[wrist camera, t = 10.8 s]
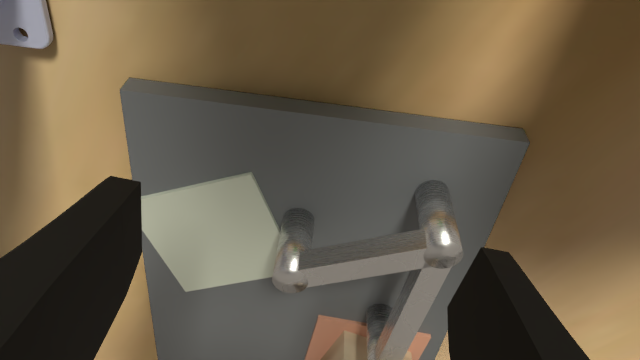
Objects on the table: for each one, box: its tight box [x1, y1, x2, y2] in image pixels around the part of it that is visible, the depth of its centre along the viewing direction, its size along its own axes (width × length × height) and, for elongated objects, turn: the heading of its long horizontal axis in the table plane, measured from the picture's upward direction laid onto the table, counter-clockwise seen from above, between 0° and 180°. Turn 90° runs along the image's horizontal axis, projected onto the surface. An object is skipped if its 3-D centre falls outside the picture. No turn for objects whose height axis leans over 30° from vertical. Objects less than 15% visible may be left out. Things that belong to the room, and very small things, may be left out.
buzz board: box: [120, 78, 530, 360], centre depth 25 cm, size 16×18×1 cm
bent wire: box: [272, 180, 463, 360], centre depth 22 cm, size 7×9×4 cm
